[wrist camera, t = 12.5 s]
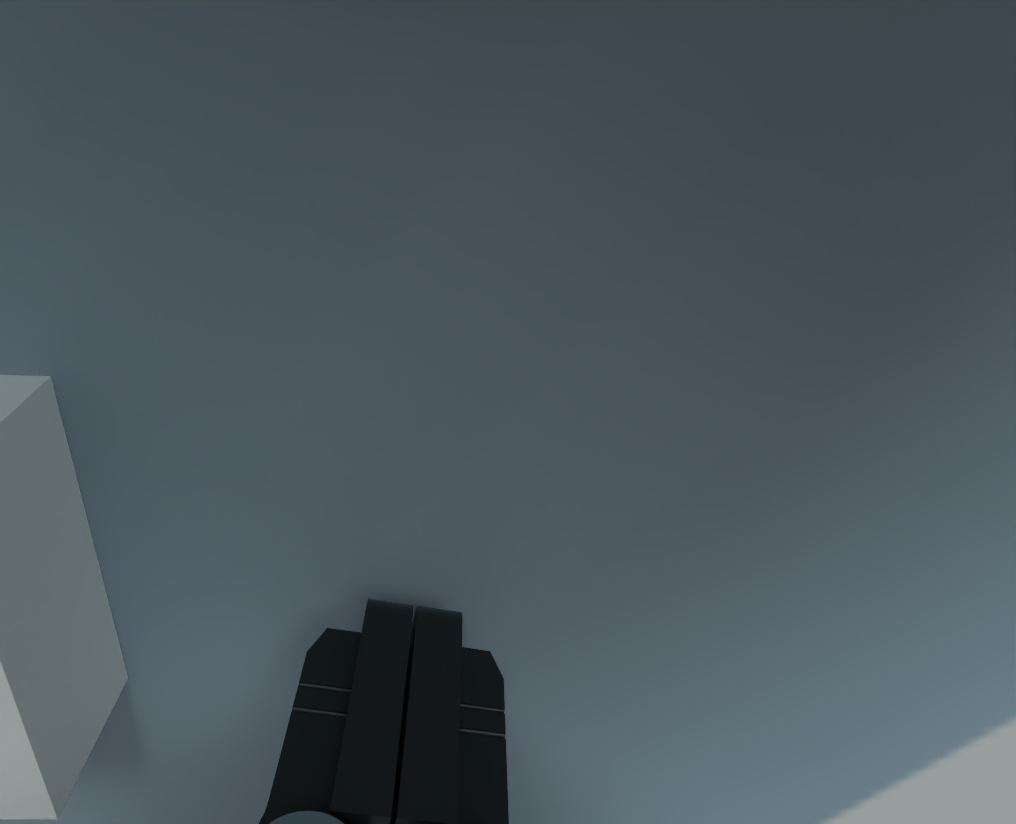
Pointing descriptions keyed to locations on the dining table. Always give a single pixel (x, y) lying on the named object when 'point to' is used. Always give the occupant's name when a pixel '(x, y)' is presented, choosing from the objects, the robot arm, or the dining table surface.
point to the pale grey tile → (47, 611)
